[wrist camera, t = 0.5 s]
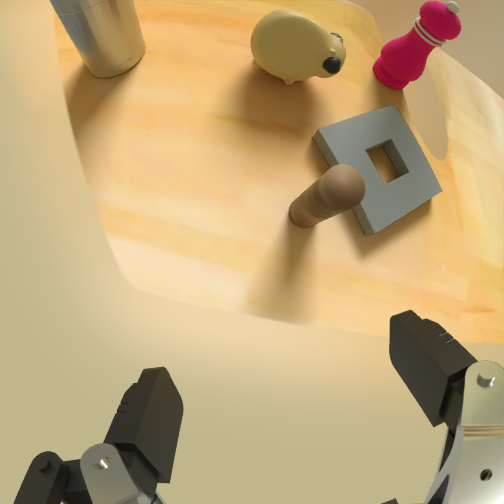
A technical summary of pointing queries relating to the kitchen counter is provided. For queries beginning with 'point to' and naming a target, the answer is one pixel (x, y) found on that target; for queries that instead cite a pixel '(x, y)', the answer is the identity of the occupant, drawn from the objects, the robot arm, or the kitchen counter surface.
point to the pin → (328, 196)
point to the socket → (355, 155)
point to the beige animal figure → (295, 47)
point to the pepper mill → (417, 44)
